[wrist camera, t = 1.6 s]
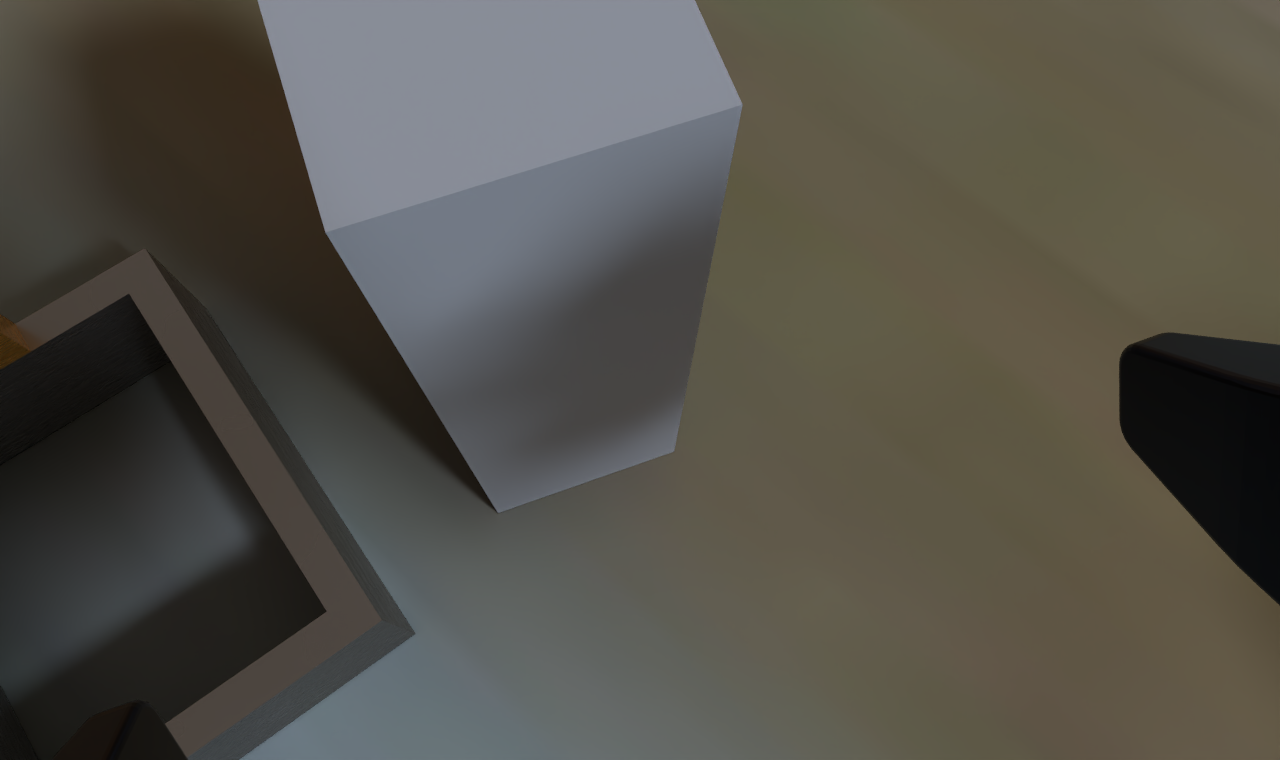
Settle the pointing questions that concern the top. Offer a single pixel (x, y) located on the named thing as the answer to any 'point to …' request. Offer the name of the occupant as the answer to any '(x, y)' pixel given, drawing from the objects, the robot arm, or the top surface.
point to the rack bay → (262, 451)
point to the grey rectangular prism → (522, 210)
